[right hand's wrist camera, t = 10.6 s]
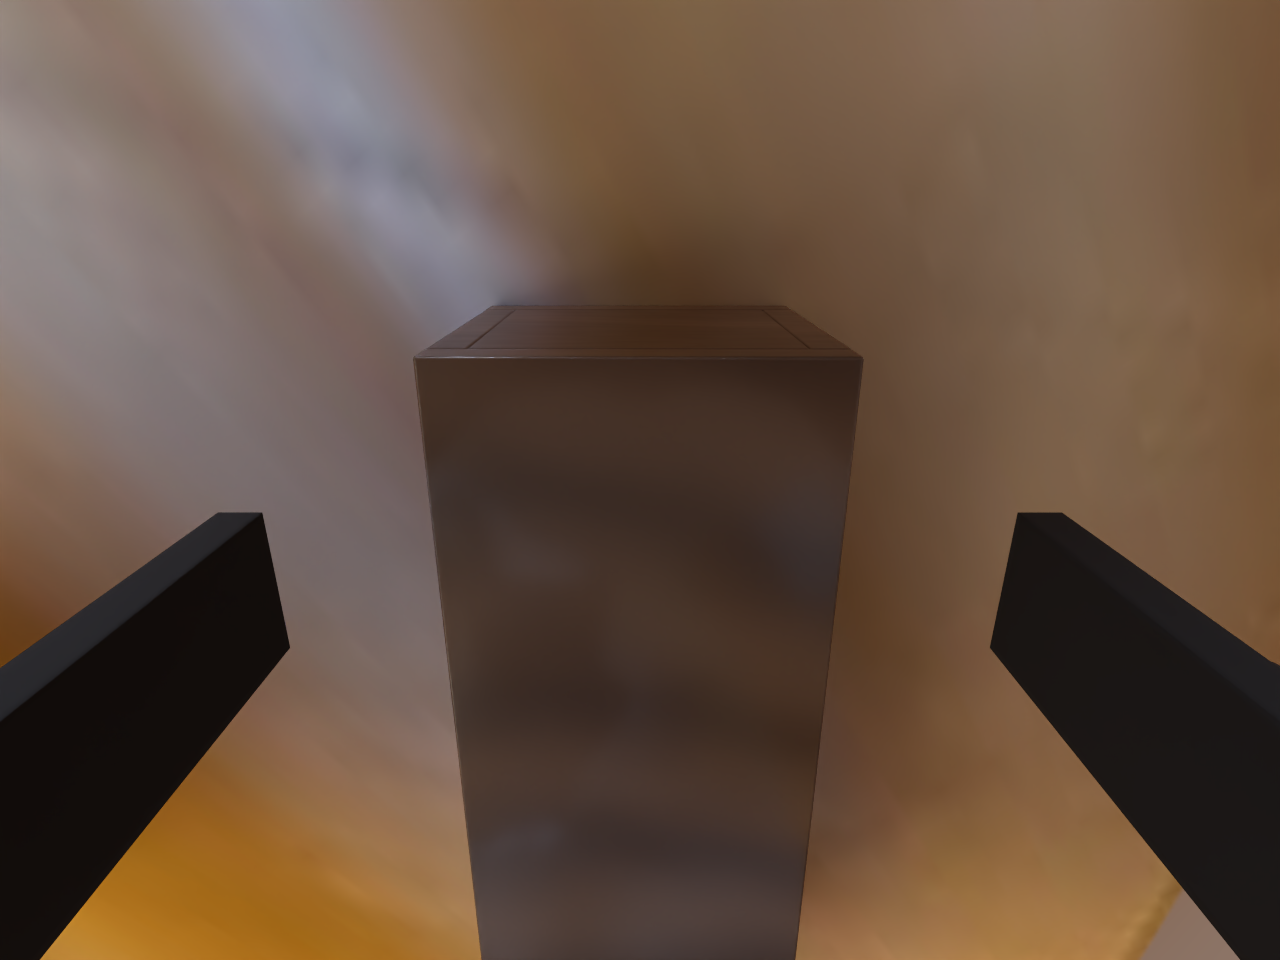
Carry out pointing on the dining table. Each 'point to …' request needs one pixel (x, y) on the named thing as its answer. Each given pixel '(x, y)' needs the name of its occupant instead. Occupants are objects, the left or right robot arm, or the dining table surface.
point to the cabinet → (638, 617)
